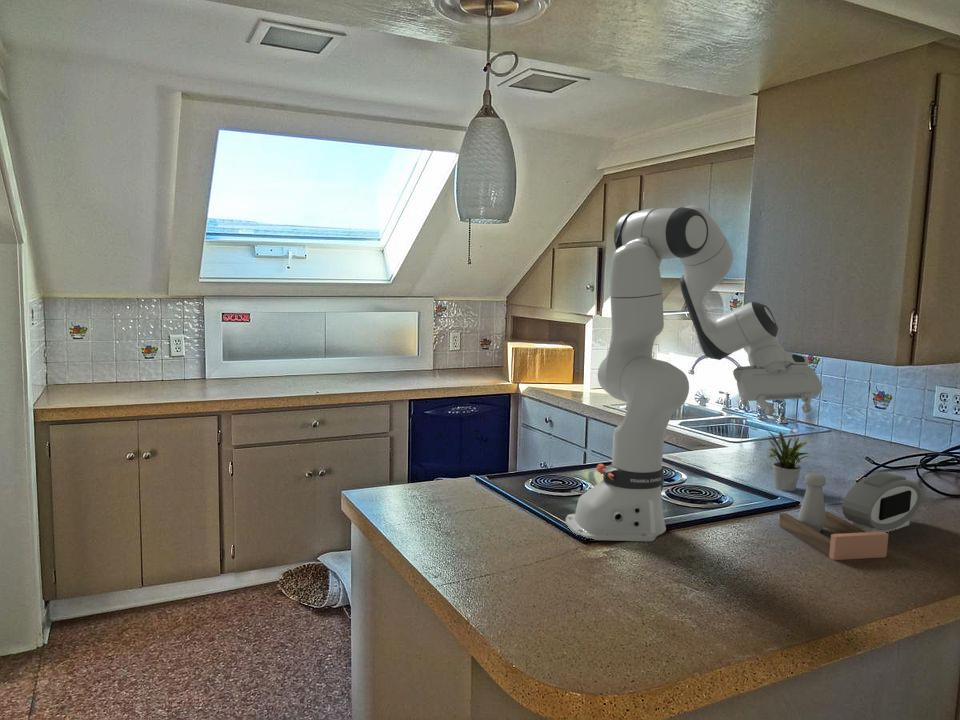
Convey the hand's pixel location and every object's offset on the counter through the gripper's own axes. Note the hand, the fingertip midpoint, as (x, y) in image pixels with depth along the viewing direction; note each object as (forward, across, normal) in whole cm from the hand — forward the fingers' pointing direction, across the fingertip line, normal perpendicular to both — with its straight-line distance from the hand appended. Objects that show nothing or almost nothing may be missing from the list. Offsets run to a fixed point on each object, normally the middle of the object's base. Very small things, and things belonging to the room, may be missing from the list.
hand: (789, 412), depth 177 cm
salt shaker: (+26, 0, +9) cm, 28 cm away
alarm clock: (+27, +16, +9) cm, 33 cm away
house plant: (+5, +9, +31) cm, 33 cm away
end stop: (+37, 0, -2) cm, 37 cm away
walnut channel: (+30, 0, +4) cm, 31 cm away
